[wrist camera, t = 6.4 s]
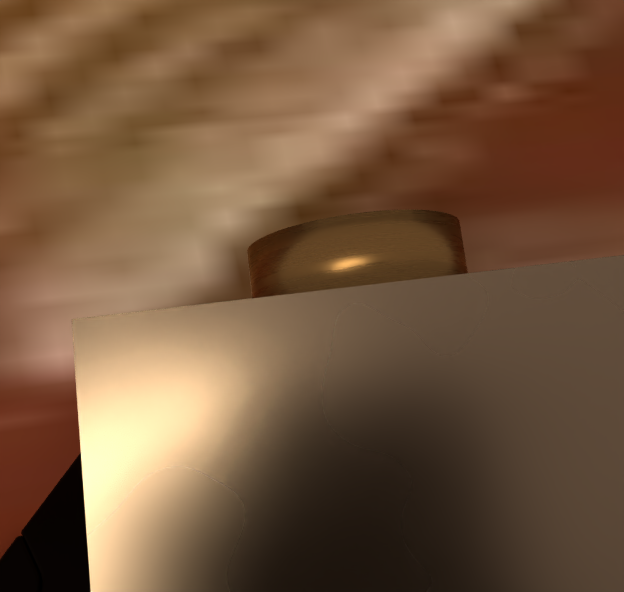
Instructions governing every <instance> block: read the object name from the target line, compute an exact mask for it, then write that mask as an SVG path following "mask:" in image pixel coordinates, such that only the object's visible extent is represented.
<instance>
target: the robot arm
mask: <svg viewBox="0 0 624 592" xmlns="http://www.w3.org/2000/svg"><path fill="white" fill-rule="evenodd" d="M21 534H22V536H23V537H22V536H18V537H17V538H16V539H15V540H14V542H13V543H12V544H11V546H10V547H9V548H8V550H7V551H6V552H5V554H4V555H3V556H2V558H1V559H0V592H91V588H90V574H89V559H88V545H87V531H86V517H85V502H84V488H83V474H82V460H81V453H80V454H79V455H78V457H77V458H76V459H75V461H74V462H73V463H72V465H71V466H70V467H69V469H68V470H67V471H66V473H65V474H64V475H63V477H62V478H61V479H60V481H59V482H58V483H57V485H56V486H55V487H54V489H53V490H52V491H51V493H50V494H49V495H48V497H47V498H46V499H45V501H44V502H43V503H42V505H41V506H40V507H39V509H38V510H37V511H36V513H35V514H34V515H33V517H32V518H31V519H30V521H29V522H28V523H27V525H26V526H25V527H24V529H23V530H22V532H21Z"/></svg>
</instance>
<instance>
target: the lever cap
mask: <svg viewBox="0 0 624 592" xmlns="http://www.w3.org/2000/svg"><path fill="white" fill-rule="evenodd" d="M247 255H248V264H249V273H250V282H251V291H252V298H251V299H243V300H234V301H226V302H217V303H208V304H200V305H191V306H183V307H174V308H165V309H157V310H148V311H140V312H131V313H122V314H114V315H105V316H97V317H88V318H79V319H72V331H73V346H74V360H75V374H76V388H77V403H78V417H79V431H80V445H81V460H82V474H83V488H84V502H85V517H86V531H87V545H88V559H89V574H90V588H91V592H624V255H621V256H612V257H604V258H595V259H587V260H578V261H569V262H561V263H552V264H544V265H535V266H526V267H518V268H509V269H501V270H492V271H483V272H475V273H468V272H467V265H466V259H465V253H464V247H463V241H462V234H461V228H460V222H459V220H458V218H457V217H455V216H453V215H451V214H447V213H443V212H438V211H429V210H386V211H374V212H364V213H356V214H348V215H342V216H336V217H330V218H325V219H320V220H316V221H311V222H307V223H303V224H299V225H296V226H292V227H288V228H285V229H282V230H279V231H277V232H274V233H272V234H269V235H267V236H265V237H263V238H261V239H259V240H257V241H256V242H254V243H253V244H252V245H250V246H249V248H248V250H247Z"/></svg>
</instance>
